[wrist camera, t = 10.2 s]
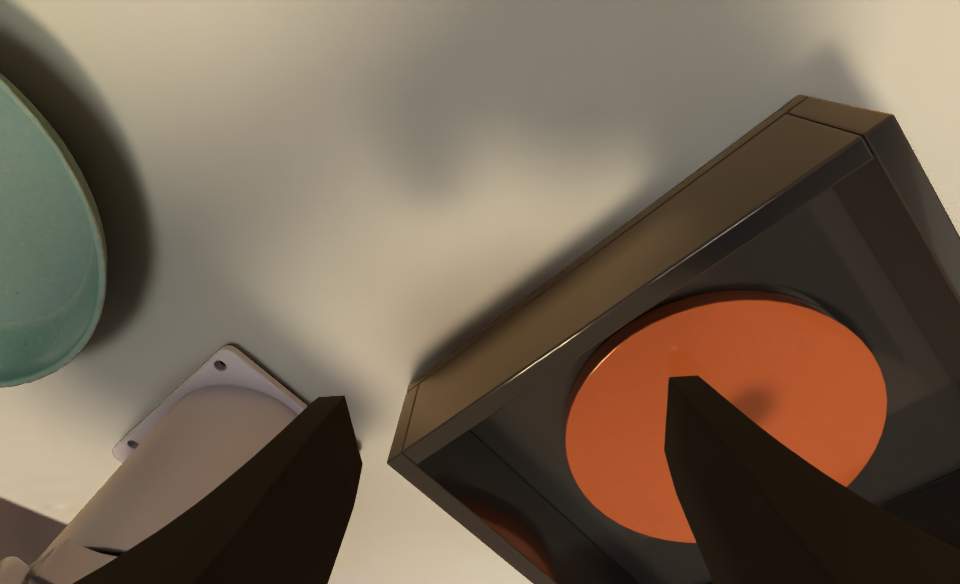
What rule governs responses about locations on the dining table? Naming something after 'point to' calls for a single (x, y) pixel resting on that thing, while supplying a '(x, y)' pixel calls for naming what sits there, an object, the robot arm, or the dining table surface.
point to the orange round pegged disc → (737, 377)
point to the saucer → (44, 247)
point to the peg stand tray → (693, 271)
